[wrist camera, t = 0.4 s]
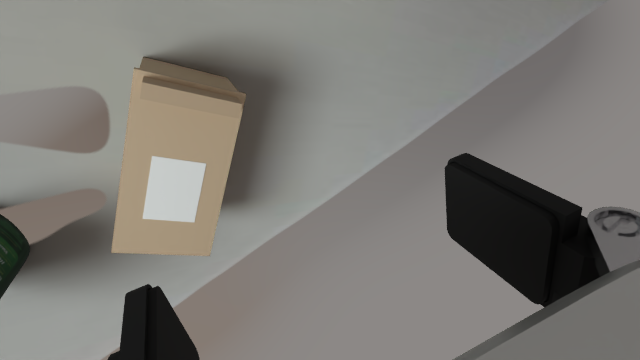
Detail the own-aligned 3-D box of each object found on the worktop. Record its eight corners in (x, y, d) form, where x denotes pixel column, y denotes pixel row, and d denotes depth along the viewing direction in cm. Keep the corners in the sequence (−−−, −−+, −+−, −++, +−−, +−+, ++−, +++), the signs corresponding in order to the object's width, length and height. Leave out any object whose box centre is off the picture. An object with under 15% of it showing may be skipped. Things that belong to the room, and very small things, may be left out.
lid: (134, 67, 28) (131, 73, 26) (244, 93, 32) (252, 101, 29) (111, 248, 33) (107, 269, 31) (209, 252, 37) (212, 270, 35)
